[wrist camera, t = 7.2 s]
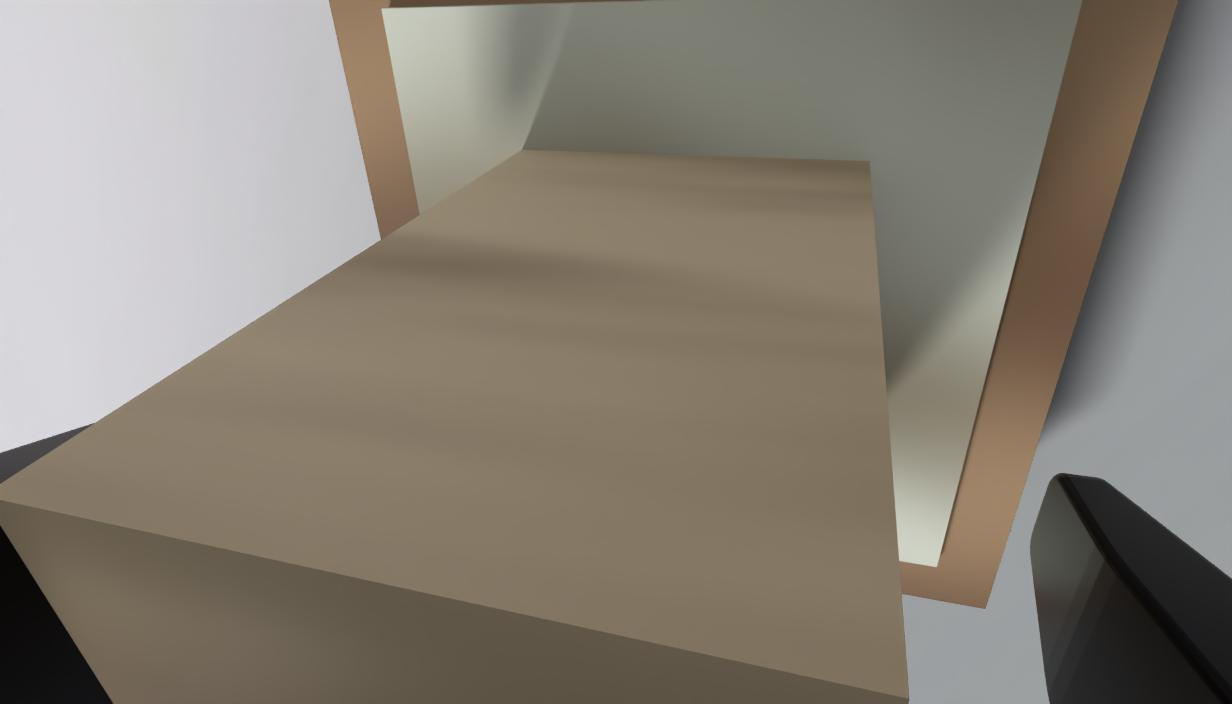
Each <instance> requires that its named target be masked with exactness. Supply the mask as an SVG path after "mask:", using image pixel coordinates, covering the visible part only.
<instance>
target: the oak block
mask: <svg viewBox="0 0 1232 704" xmlns="http://www.w3.org/2000/svg"><path fill="white" fill-rule="evenodd" d="M0 525H1V527H2V529H3V530H4V532H5V533H6V535H7V537H8V538H9V540H10V541H11V543H12V544H13V546H14V548H15V549H16V551H17V552H18V554H19V555H20V557H21V559H22V560H23V562H24V563H25V565H26V567H27V568H28V570H29V571H30V573H31V574H32V576H33V578H34V579H35V581H36V582H37V584H38V585H39V587H40V589H41V590H42V592H43V593H44V595H45V596H46V598H47V600H48V601H49V603H50V604H51V606H52V608H53V609H54V611H55V612H56V614H57V615H58V617H59V619H60V620H61V622H62V623H63V625H64V626H65V628H66V630H67V631H68V633H69V634H70V636H71V638H72V639H73V641H74V642H75V644H76V645H77V647H78V649H79V650H80V652H81V653H82V655H83V656H84V658H85V660H86V661H87V663H88V664H89V666H90V668H91V669H92V671H93V672H94V674H95V675H96V677H97V679H98V680H99V682H100V683H101V685H102V686H103V688H104V690H105V691H106V693H107V694H108V696H109V697H110V699H111V701H112V702H113V704H908V702H909V687H908V674H907V660H906V646H905V633H904V619H903V606H902V592H901V579H900V565H899V552H898V538H897V525H896V511H895V497H894V484H893V470H892V457H891V443H890V430H889V416H888V402H887V389H886V375H885V362H884V348H883V335H882V321H881V308H880V294H879V280H878V267H877V253H876V240H875V226H874V213H873V199H872V186H871V172H870V161H848V160H818V159H788V158H758V157H729V156H699V155H669V154H639V153H609V152H579V151H550V150H520V151H519V152H517V153H516V154H514V155H513V156H511V157H510V158H508V159H506V160H505V161H503V162H502V163H500V164H499V165H497V166H496V167H494V168H492V169H491V170H489V171H488V172H486V173H485V174H483V175H481V176H480V177H478V178H477V179H475V180H474V181H472V182H471V183H469V184H467V185H466V186H464V187H463V188H461V189H460V190H458V191H456V192H455V193H453V194H452V195H450V196H449V197H447V198H446V199H444V200H442V201H441V202H439V203H438V204H436V205H435V206H433V207H432V208H430V209H428V210H427V211H425V212H424V213H422V214H421V215H419V216H417V217H416V218H414V219H413V220H411V221H410V222H408V223H407V224H405V225H403V226H402V227H400V228H399V229H397V230H396V231H394V232H393V233H391V234H389V235H388V236H386V237H385V238H383V239H382V240H380V241H378V242H377V243H375V244H374V245H372V246H371V247H369V248H368V249H366V250H364V251H363V252H361V253H360V254H358V255H357V256H355V257H353V258H352V259H350V260H349V261H347V262H346V263H344V264H343V265H341V266H339V267H338V268H336V269H335V270H333V271H332V272H330V273H329V274H327V275H325V276H324V277H322V278H321V279H319V280H318V281H316V282H314V283H313V284H311V285H310V286H308V287H307V288H305V289H304V290H302V291H300V292H299V293H297V294H296V295H294V296H293V297H291V298H289V299H288V300H286V301H285V302H283V303H282V304H280V305H279V306H277V307H275V308H274V309H272V310H271V311H269V312H268V313H266V314H265V315H263V316H261V317H260V318H258V319H257V320H255V321H254V322H252V323H250V324H249V325H247V326H246V327H244V328H243V329H241V330H240V331H238V332H236V333H235V334H233V335H232V336H230V337H229V338H227V339H226V340H224V341H222V342H221V343H219V344H218V345H216V346H215V347H213V348H211V349H210V350H208V351H207V352H205V353H204V354H202V355H201V356H199V357H197V358H196V359H194V360H193V361H191V362H190V363H188V364H186V365H185V366H183V367H182V368H180V369H179V370H177V371H176V372H174V373H172V374H171V375H169V376H168V377H166V378H165V379H163V380H162V381H160V382H158V383H157V384H155V385H154V386H152V387H151V388H149V389H147V390H146V391H144V392H143V393H141V394H140V395H138V396H137V397H135V398H133V399H132V400H130V401H129V402H127V403H126V404H124V405H122V406H121V407H119V408H118V409H116V410H115V411H113V412H112V413H110V414H108V415H107V416H105V417H104V418H102V419H101V420H99V421H98V422H96V423H94V424H93V425H91V426H90V427H88V428H87V429H85V430H83V431H82V432H80V433H79V434H77V435H76V436H74V437H73V438H71V439H69V440H68V441H66V442H65V443H63V444H62V445H60V446H59V447H57V448H55V449H54V450H52V451H51V452H49V453H48V454H46V455H44V456H43V457H41V458H40V459H38V460H37V461H35V462H34V463H32V464H30V465H29V466H27V467H26V468H24V469H23V470H21V471H19V472H18V473H16V474H15V475H13V476H12V477H10V478H9V479H7V480H5V481H4V482H2V483H1V484H0Z"/></svg>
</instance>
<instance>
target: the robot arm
mask: <svg viewBox="0 0 1232 704" xmlns="http://www.w3.org/2000/svg"><path fill="white" fill-rule="evenodd" d="M93 424H94V423H93ZM93 424H90V425H87V426H84V427H80V428H77V429H74V430H71V431H68V432H65V433H62V434H58V435H55V436H52V437H49V438H46V439H43V440H40V441H36V442H33V443H30V444H27V445H24V446H21V447H18V448H14V449H11V450H8V451H5V452H2V453H0V484H1V483H2V482H4V481H5V480H7V479H9V478H10V477H12V476H13V475H15V474H16V473H18V472H19V471H21V470H23V469H24V468H26V467H27V466H29V465H30V464H32V463H34V462H35V461H37V460H38V459H40V458H41V457H43V456H44V455H46V454H48V453H49V452H51V451H52V450H54V449H55V448H57V447H59V446H60V445H62V444H63V443H65V442H66V441H68V440H69V439H71V438H73V437H74V436H76V435H77V434H79V433H80V432H82V431H83V430H85V429H87V428H88V427H90V426H91V425H93ZM1030 556H1031V565H1032V573H1033V581H1034V589H1035V598H1036V606H1037V614H1038V622H1039V631H1040V639H1041V647H1042V655H1043V663H1044V672H1045V678H1046V685H1047V692H1048V697H1049V702H1050V704H1232V578H1230V577H1229V576H1228V575H1226V574H1225V573H1224V572H1223V571H1221V570H1220V569H1219V568H1217V567H1216V566H1215V565H1214V564H1212V563H1211V562H1210V561H1208V560H1207V559H1206V558H1205V557H1203V556H1202V555H1201V554H1199V553H1198V552H1197V551H1195V550H1194V549H1193V548H1192V547H1190V546H1189V545H1188V544H1186V543H1185V542H1184V541H1183V540H1181V539H1180V538H1179V537H1177V536H1176V535H1175V534H1174V533H1172V532H1171V531H1170V530H1168V529H1167V528H1166V527H1165V526H1163V525H1162V524H1161V523H1159V522H1158V521H1157V520H1156V519H1154V518H1153V517H1152V516H1150V515H1149V514H1148V513H1147V512H1145V511H1144V510H1143V509H1141V508H1140V507H1139V506H1138V505H1136V504H1135V503H1134V502H1132V501H1131V500H1130V499H1129V498H1127V497H1126V496H1125V495H1123V494H1122V493H1121V492H1120V491H1118V490H1117V489H1116V488H1114V487H1113V486H1112V485H1111V484H1109V483H1108V482H1106V481H1105V480H1103V479H1100V478H1096V477H1089V476H1081V475H1073V474H1066V473H1059V474H1057V475H1055V476H1054V477H1053V478H1052V479H1051V481H1050V482H1049V485H1048V487H1047V490H1046V493H1045V496H1044V499H1043V502H1042V505H1041V508H1040V511H1039V514H1038V517H1037V520H1036V523H1035V526H1034V529H1033V532H1032V536H1031V544H1030ZM0 704H113V702H112V701H111V699H110V697H109V696H108V694H107V693H106V691H105V690H104V688H103V686H102V685H101V683H100V682H99V680H98V679H97V677H96V675H95V674H94V672H93V671H92V669H91V668H90V666H89V664H88V663H87V661H86V660H85V658H84V656H83V655H82V653H81V652H80V650H79V649H78V647H77V645H76V644H75V642H74V641H73V639H72V638H71V636H70V634H69V633H68V631H67V630H66V628H65V626H64V625H63V623H62V622H61V620H60V619H59V617H58V615H57V614H56V612H55V611H54V609H53V608H52V606H51V604H50V603H49V601H48V600H47V598H46V596H45V595H44V593H43V592H42V590H41V589H40V587H39V585H38V584H37V582H36V581H35V579H34V578H33V576H32V574H31V573H30V571H29V570H28V568H27V567H26V565H25V563H24V562H23V560H22V559H21V557H20V555H19V554H18V552H17V551H16V549H15V548H14V546H13V544H12V543H11V541H10V540H9V538H8V537H7V535H6V533H5V532H4V530H3V529H2V527H1V525H0Z"/></svg>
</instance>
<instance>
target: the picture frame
mask: <svg viewBox="0 0 1232 704" xmlns="http://www.w3.org/2000/svg"><path fill="white" fill-rule="evenodd" d="M329 3H330V7H331V12H332V17H333V21H334V26H335V30H336V35H337V39H338V44H339V49H340V53H341V58H342V62H343V67H344V72H345V76H346V81H347V85H348V90H349V94H350V99H351V104H352V108H353V113H354V117H355V122H356V127H357V131H358V136H359V140H360V145H361V149H362V154H363V159H364V163H365V168H366V172H367V177H368V182H369V186H370V191H371V195H372V200H373V204H374V209H375V214H376V218H377V223H378V227H379V232H380V237H381V240H382V239H383V238H385V237H386V236H388V235H389V234H391V233H393V232H394V231H396V230H397V229H399V228H400V227H402V226H403V225H405V224H407V223H408V222H410V221H411V220H413V219H414V218H416V217H417V216H419V215H421V214H422V213H424V212H425V211H427V210H428V209H430V208H432V207H433V206H435V205H436V204H438V203H439V202H441V201H442V200H444V199H446V198H447V197H449V196H450V195H452V194H453V193H455V192H456V191H458V190H460V189H461V188H463V187H464V186H466V185H467V184H469V183H471V182H472V181H474V180H475V179H477V178H478V177H480V176H481V175H483V174H485V173H486V172H488V171H489V170H491V169H492V168H494V167H496V166H497V165H499V164H500V163H502V162H503V161H505V160H506V159H508V158H510V157H511V156H513V155H514V154H516V153H517V152H519V151H520V150H550V151H579V152H609V153H639V154H669V155H699V156H729V157H758V158H788V159H818V160H848V161H870V172H871V186H872V199H873V213H874V226H875V240H876V253H877V267H878V280H879V294H880V308H881V321H882V335H883V348H884V362H885V375H886V389H887V402H888V416H889V430H890V443H891V457H892V470H893V484H894V497H895V511H896V525H897V538H898V552H899V565H900V579H901V592H902V594H906V595H911V596H917V597H922V598H928V599H933V600H939V601H944V602H950V603H955V604H961V605H966V606H972V607H977V608H983V609H985V608H986V605H987V602H988V599H989V596H990V593H991V590H992V586H993V583H994V580H995V577H996V574H997V571H998V567H999V564H1000V561H1001V558H1002V555H1003V552H1004V549H1005V545H1006V542H1007V539H1008V536H1009V533H1010V530H1011V527H1012V523H1013V520H1014V517H1015V514H1016V511H1017V508H1018V504H1019V501H1020V498H1021V495H1022V492H1023V489H1024V486H1025V482H1026V479H1027V476H1028V473H1029V470H1030V467H1031V463H1032V460H1033V457H1034V454H1035V451H1036V448H1037V445H1038V441H1039V438H1040V435H1041V432H1042V429H1043V426H1044V423H1045V419H1046V416H1047V413H1048V410H1049V407H1050V404H1051V400H1052V397H1053V394H1054V391H1055V388H1056V385H1057V382H1058V378H1059V375H1060V372H1061V369H1062V366H1063V363H1064V359H1065V356H1066V353H1067V350H1068V347H1069V344H1070V341H1071V337H1072V334H1073V331H1074V328H1075V325H1076V322H1077V319H1078V315H1079V312H1080V309H1081V306H1082V303H1083V300H1084V296H1085V293H1086V290H1087V287H1088V284H1089V281H1090V278H1091V274H1092V271H1093V268H1094V265H1095V262H1096V259H1097V255H1098V252H1099V249H1100V246H1101V243H1102V240H1103V237H1104V233H1105V230H1106V227H1107V224H1108V221H1109V218H1110V215H1111V211H1112V208H1113V205H1114V202H1115V199H1116V196H1117V192H1118V189H1119V186H1120V183H1121V180H1122V177H1123V174H1124V170H1125V167H1126V164H1127V161H1128V158H1129V155H1130V151H1131V148H1132V145H1133V142H1134V139H1135V136H1136V133H1137V129H1138V126H1139V123H1140V120H1141V117H1142V114H1143V111H1144V107H1145V104H1146V101H1147V98H1148V95H1149V92H1150V88H1151V85H1152V82H1153V79H1154V76H1155V73H1156V70H1157V66H1158V63H1159V60H1160V57H1161V54H1162V51H1163V47H1164V44H1165V41H1166V38H1167V35H1168V32H1169V29H1170V25H1171V22H1172V19H1173V16H1174V13H1175V10H1176V7H1177V3H1178V0H329Z"/></svg>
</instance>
